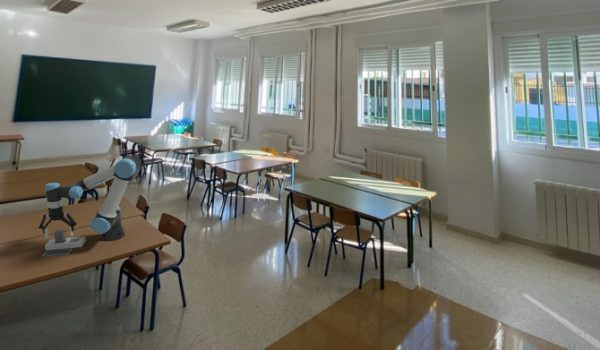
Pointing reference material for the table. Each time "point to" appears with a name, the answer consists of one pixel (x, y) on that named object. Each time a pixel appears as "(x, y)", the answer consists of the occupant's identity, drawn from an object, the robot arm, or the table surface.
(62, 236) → the block
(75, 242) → the power strip
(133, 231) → the table surface
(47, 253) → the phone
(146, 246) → the table surface
